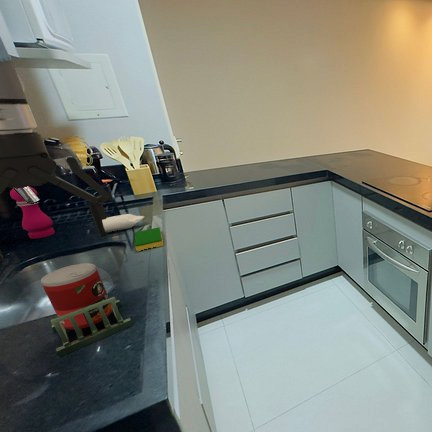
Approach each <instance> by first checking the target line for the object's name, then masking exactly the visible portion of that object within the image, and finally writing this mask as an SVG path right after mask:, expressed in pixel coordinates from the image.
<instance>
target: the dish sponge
mask: <svg viewBox="0 0 432 432" xmlns="http://www.w3.org/2000/svg"><path fill="white" fill-rule="evenodd" d="M162 235H163V234H162V231H161V228H160V227H154V228H149V229H144V230H143V229H142V230H139V231H135V232H134V247H135V250H136V252H142V251H141V250H143V251H145V250H144V249H147V250H149V249H148V248H151V249H154V248H153V247H156V248H159V247H163V246H164V239H163V236H162Z"/></svg>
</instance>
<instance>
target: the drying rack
mask: <svg viewBox="0 0 432 432" xmlns="http://www.w3.org/2000/svg"><path fill="white" fill-rule="evenodd" d="M108 303H111V305H112V312H111V313H113V315H114V317H115V319H116V321H117V322H116V323H114V324H112V325H111V323H110V320H109V318H108V317H106V315H105V313H104V310H103V308H102V306H103V305H105V304H108ZM122 306H123V305H122V303H121V301H120V299H116V297H115V296H112V297H109V299H106V300H104V301H101V302H98V303H95V304H93V305H90V306H87V307H85V308H82V309H79V310H76V311H74V312H71V313H68V314H65V315H63V316H60V317H58V316H56V317H54V318H52V319H50V323H51V326H50V327H51V329H52V331H53V333H54V334H55V333H57V334H58V335H59V338H60V339H61V342H62V345H61V346H59V347H56V348H55V351H56V354H57V356H58V357H59V358H61V357H64V356H66V355H68V354H71V353H73V352H75V351H78V350H80V349H82V348H84V347H86V346H89V345H91V344H94V343H96V342H98V341H101V340H102V339H105V338H107V337H110V336H112V335H114V334H116V333H119V332H121V331H123V330H126V329H128V328H131V327H133V322H132V320H131V318H130V317H128V318H126V319H123V317H122V316H121V313H120V310H119V308H122ZM97 307H98V309H99V312H100V314H101V316H102V319H103V320H102V321H101V322H102V323H103V326H104V328H102V329H99V330H98V328H97V326H96V324H94V323H93V321H92V319H91V317H90V314H89V312H88V311H89V310H92V309H95V308H97ZM81 313H84V314H85V317H86V319H87V321H88V323H89V325H90V326H89V329H90V331H91V333H90V334H88V335H84V333H83V328H81V329H79V327H78V324H77V322H76V320H75V318H74V316H76V315H79V314H81ZM68 318H69V319H70V321H71V323H72V325H73V327H74V329H73V330H74V332H75V333H76V337H77V339H76V340H73V341H71V342H70V338H69V334H68V331H67V330H68V329H67V328H65V327H64V326H63V325H62V324H61V322H60V321H63V320H65V319H68Z"/></svg>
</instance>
